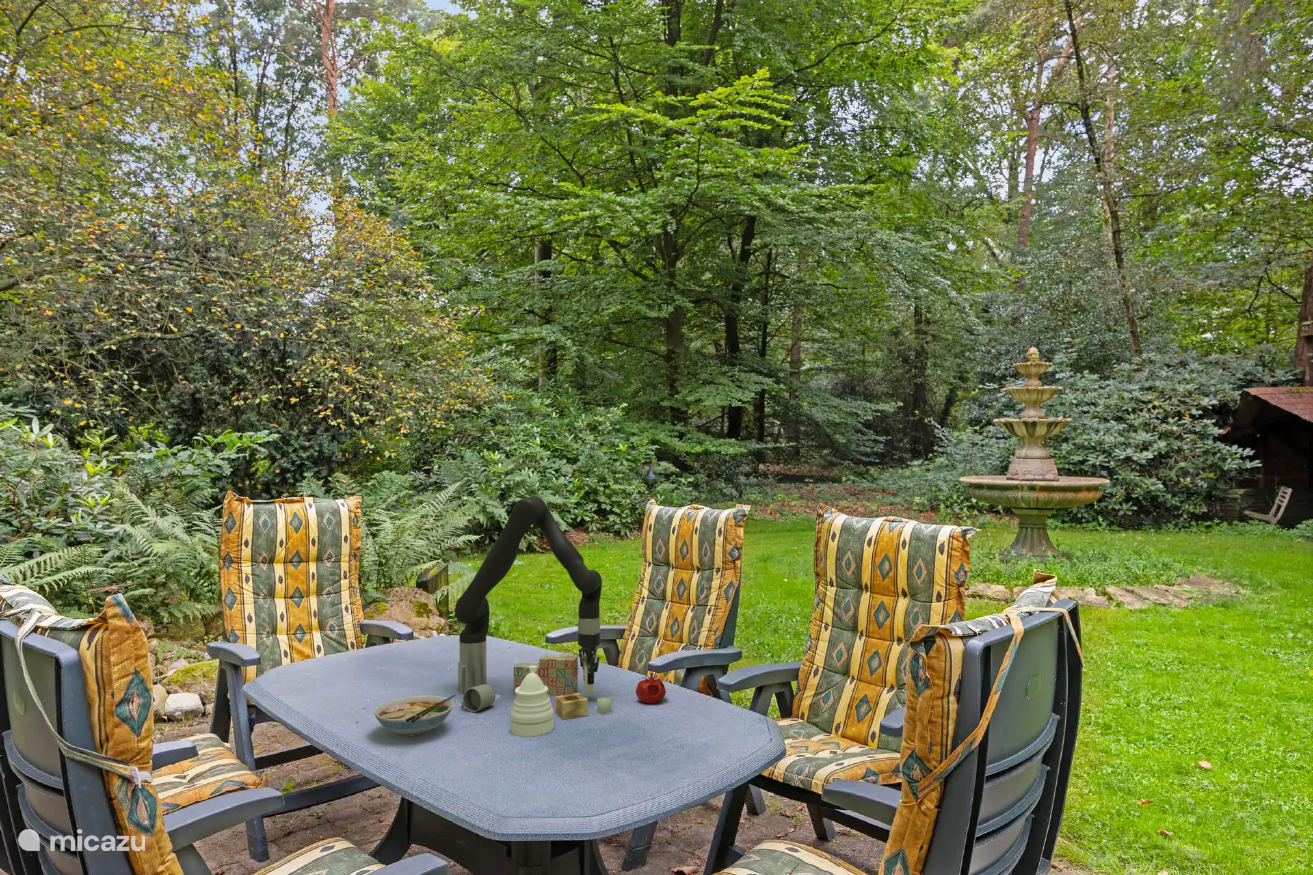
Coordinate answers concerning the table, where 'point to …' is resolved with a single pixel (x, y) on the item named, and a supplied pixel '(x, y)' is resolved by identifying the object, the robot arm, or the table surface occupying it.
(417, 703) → the ramen bowl
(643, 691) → the pomegranate
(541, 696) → the honey pot
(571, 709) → the bead block
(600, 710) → the bead
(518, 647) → the table surface
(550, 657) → the stack of blocks
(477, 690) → the ceramic mug
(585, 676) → the cream capped cylinder
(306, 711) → the table surface
